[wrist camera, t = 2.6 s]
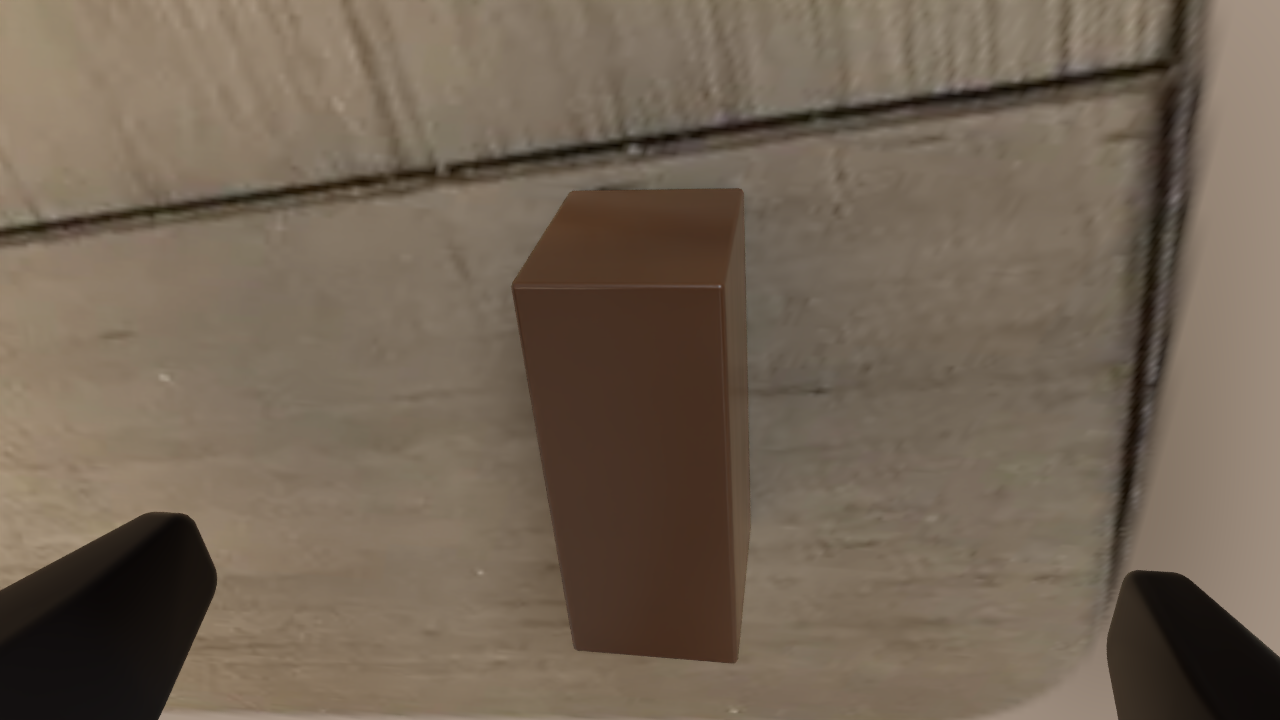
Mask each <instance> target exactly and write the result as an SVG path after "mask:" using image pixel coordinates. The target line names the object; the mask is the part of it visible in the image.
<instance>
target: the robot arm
mask: <svg viewBox="0 0 1280 720" xmlns="http://www.w3.org/2000/svg"><path fill="white" fill-rule="evenodd" d="M216 585H217V573H216V569H215V566H214V564H213V561H212V559H211V557H210V555H209V552H208V550H207V548H206V546H205V543H204V541H203V539H202V537H201V534H200V532H199V530H198V528H197V526H196V524H195V522H194V520H193V519H191V518H190V517H189V516H188V515H185V514H182V513H168V512H150V513H146V514H143V515H141V516H139V517H137V518H135V519H134V520H132V521H130V522H128V523H126V524H124V525H122V526H120V527H119V528H117V529H115V530H113V531H111V532H109V533H107V534H105V535H104V536H102V537H100V538H98V539H96V540H94V541H92V542H91V543H89V544H87V545H85V546H83V547H81V548H79V549H77V550H76V551H74V552H72V553H70V554H68V555H66V556H64V557H62V558H61V559H59V560H57V561H55V562H53V563H51V564H49V565H47V566H46V567H44V568H42V569H40V570H38V571H36V572H34V573H32V574H31V575H29V576H27V577H25V578H23V579H21V580H19V581H17V582H16V583H14V584H12V585H10V586H8V587H6V588H4V589H2V590H1V591H0V720H158V719H159V717H160V715H161V713H162V710H163V708H164V706H165V704H166V702H167V700H168V697H169V695H170V693H171V691H172V688H173V686H174V684H175V682H176V679H177V677H178V675H179V673H180V670H181V668H182V666H183V664H184V661H185V659H186V657H187V655H188V652H189V650H190V648H191V646H192V643H193V641H194V639H195V637H196V634H197V632H198V630H199V628H200V625H201V623H202V621H203V619H204V616H205V614H206V612H207V610H208V607H209V605H210V603H211V601H212V598H213V596H214V593H215V590H216ZM1107 660H1108V667H1109V672H1110V678H1111V683H1112V688H1113V693H1114V699H1115V704H1116V709H1117V714H1118V720H1280V657H1279V656H1278V655H1276V654H1275V653H1274V652H1273V651H1272V650H1271V649H1270V648H1269V647H1267V646H1266V645H1265V644H1264V643H1263V642H1262V641H1260V640H1259V639H1258V638H1257V637H1256V636H1255V635H1253V634H1252V633H1251V632H1250V631H1249V630H1248V629H1246V628H1245V627H1244V626H1243V625H1242V624H1241V623H1240V622H1238V621H1237V620H1236V619H1235V618H1234V617H1232V616H1231V615H1230V614H1229V613H1228V612H1227V611H1226V610H1224V609H1223V608H1222V607H1221V606H1220V605H1219V604H1218V603H1216V602H1215V601H1214V600H1213V599H1212V598H1211V597H1209V596H1208V595H1207V594H1206V593H1205V592H1204V591H1202V590H1201V589H1200V588H1199V587H1198V586H1197V585H1196V584H1194V583H1193V582H1192V581H1191V580H1189V579H1188V578H1186V577H1185V576H1183V575H1181V574H1178V573H1174V572H1158V571H1141V570H1136V571H1132V572H1130V573H1128V574H1127V575H1126V577H1125V578H1124V580H1123V583H1122V586H1121V589H1120V593H1119V597H1118V600H1117V604H1116V607H1115V611H1114V614H1113V618H1112V622H1111V625H1110V629H1109V632H1108V637H1107Z"/></svg>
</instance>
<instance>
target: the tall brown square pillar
mask: <svg viewBox="0 0 1280 720" xmlns="http://www.w3.org/2000/svg"><path fill="white" fill-rule="evenodd" d="M511 288H512V293H513V299H514V305H515V311H516V317H517V322H518V328H519V334H520V340H521V345H522V351H523V357H524V363H525V369H526V374H527V380H528V386H529V392H530V397H531V403H532V409H533V415H534V421H535V426H536V432H537V438H538V444H539V449H540V455H541V461H542V467H543V473H544V478H545V484H546V490H547V496H548V502H549V507H550V513H551V519H552V525H553V530H554V536H555V542H556V548H557V554H558V559H559V565H560V571H561V577H562V582H563V588H564V594H565V600H566V606H567V611H568V617H569V623H570V629H571V634H572V640H573V646H574V649H575V650H578V651H590V652H602V653H614V654H626V655H638V656H650V657H662V658H674V659H686V660H698V661H710V662H722V663H736V662H737V660H738V654H739V644H740V633H741V623H742V612H743V602H744V591H745V581H746V570H747V560H748V549H749V539H750V528H751V518H750V470H749V422H748V373H747V325H746V277H745V228H744V193H743V191H742V189H739V188H736V189H669V190H601V191H572V192H570V193H569V194H568V196H567V197H566V199H565V201H564V202H563V204H562V205H561V207H560V208H559V210H558V212H557V213H556V215H555V216H554V218H553V220H552V221H551V223H550V224H549V226H548V227H547V229H546V231H545V232H544V234H543V235H542V237H541V238H540V240H539V242H538V243H537V245H536V246H535V248H534V250H533V251H532V253H531V254H530V256H529V257H528V259H527V261H526V262H525V264H524V265H523V267H522V268H521V270H520V272H519V273H518V275H517V276H516V278H515V280H514V281H513V283H512V286H511Z"/></svg>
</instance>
